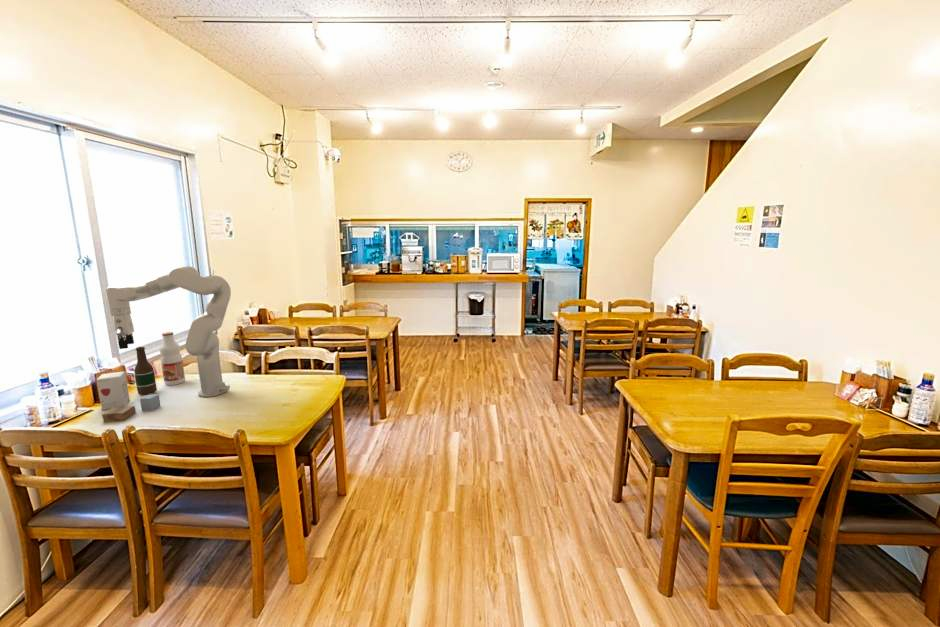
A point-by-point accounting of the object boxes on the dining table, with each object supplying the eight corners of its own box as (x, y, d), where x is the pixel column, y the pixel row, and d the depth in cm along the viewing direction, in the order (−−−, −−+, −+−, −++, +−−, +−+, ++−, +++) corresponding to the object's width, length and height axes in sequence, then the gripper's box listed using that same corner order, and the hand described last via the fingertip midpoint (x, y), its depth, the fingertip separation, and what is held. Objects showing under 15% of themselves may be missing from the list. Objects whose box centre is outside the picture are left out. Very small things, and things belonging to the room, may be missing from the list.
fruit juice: (188, 381, 230) (180, 332, 225) (167, 386, 223) (159, 335, 218) (182, 378, 236) (174, 330, 231) (162, 383, 228) (154, 333, 223)
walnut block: (136, 413, 189) (134, 405, 188) (124, 421, 181) (122, 412, 180) (116, 415, 188) (114, 406, 187) (103, 423, 180) (102, 414, 179)
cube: (160, 406, 196) (158, 394, 195) (152, 411, 191) (150, 398, 190) (150, 406, 196) (148, 394, 195) (141, 410, 192) (139, 398, 190)
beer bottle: (160, 390, 218) (153, 345, 214) (148, 395, 210) (140, 349, 206) (147, 389, 219) (139, 345, 214) (134, 395, 211) (126, 349, 207)
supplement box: (101, 410, 193) (95, 379, 190) (106, 403, 201) (101, 373, 198) (125, 406, 197) (120, 376, 194) (130, 400, 205) (125, 370, 202)
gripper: (124, 313, 194) (131, 349, 197) (135, 308, 210) (141, 341, 213) (104, 315, 191) (111, 351, 194) (116, 309, 206) (122, 343, 210)
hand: (127, 346), depth 203 cm, fingers open, 9 cm apart
